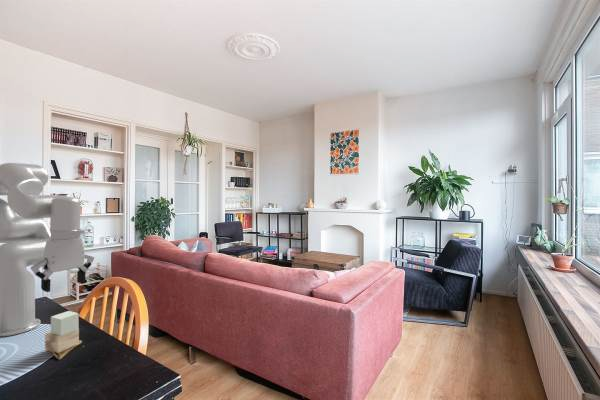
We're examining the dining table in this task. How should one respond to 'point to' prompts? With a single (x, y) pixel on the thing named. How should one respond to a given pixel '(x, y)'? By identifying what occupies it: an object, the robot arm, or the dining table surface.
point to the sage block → (64, 323)
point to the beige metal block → (61, 341)
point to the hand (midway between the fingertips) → (64, 286)
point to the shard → (64, 352)
